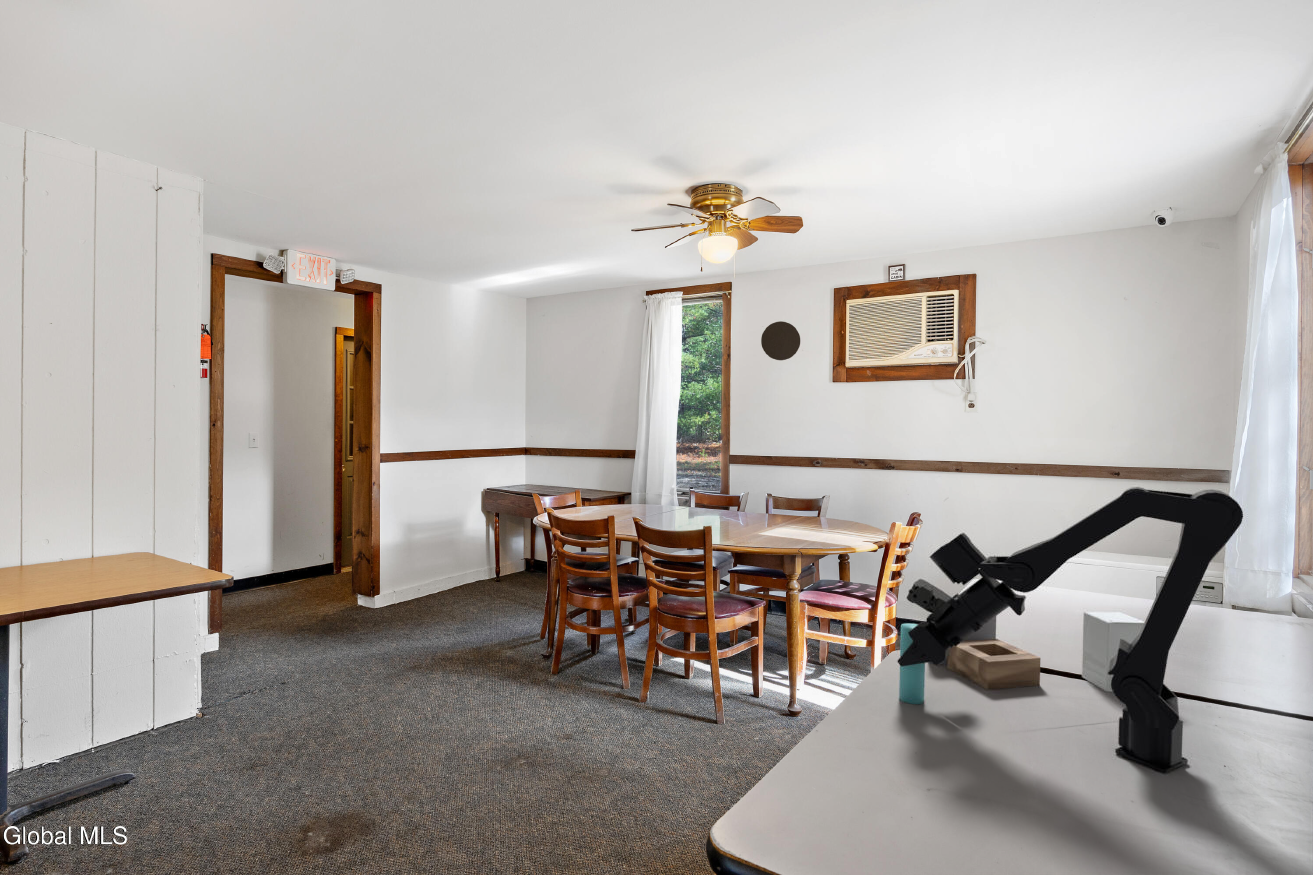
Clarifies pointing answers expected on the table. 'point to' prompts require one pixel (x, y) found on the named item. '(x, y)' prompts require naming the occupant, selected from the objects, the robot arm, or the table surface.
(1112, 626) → the supplement box
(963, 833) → the table surface
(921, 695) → the dowel
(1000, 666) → the hole block
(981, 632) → the backstop wall
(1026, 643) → the table surface
